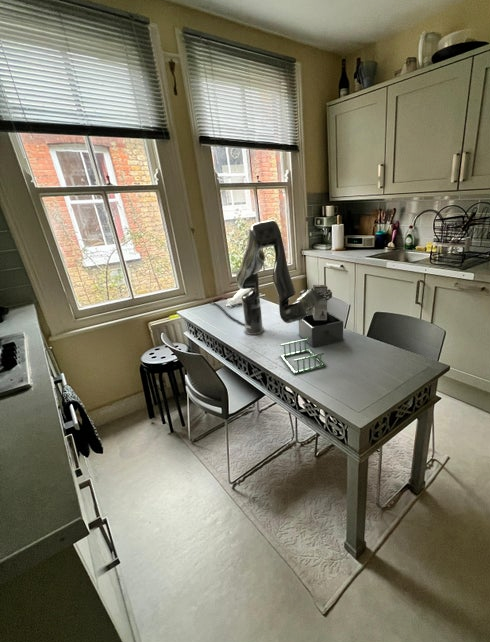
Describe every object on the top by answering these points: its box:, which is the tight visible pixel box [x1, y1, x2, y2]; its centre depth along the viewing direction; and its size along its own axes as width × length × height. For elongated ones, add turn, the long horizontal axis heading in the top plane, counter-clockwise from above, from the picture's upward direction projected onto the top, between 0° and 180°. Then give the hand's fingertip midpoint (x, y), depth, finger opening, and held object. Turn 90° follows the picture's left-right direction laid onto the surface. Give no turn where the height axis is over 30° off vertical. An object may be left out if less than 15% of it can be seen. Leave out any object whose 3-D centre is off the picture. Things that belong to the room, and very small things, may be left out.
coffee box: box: [312, 284, 329, 320], centre depth 153 cm, size 9×6×16 cm
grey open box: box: [297, 310, 344, 348], centre depth 157 cm, size 17×17×10 cm
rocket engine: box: [225, 288, 251, 308], centre depth 213 cm, size 12×12×18 cm
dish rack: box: [280, 338, 326, 375], centre depth 136 cm, size 17×14×6 cm
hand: (320, 290), depth 151 cm, fingers closed on coffee box, 8 cm apart
